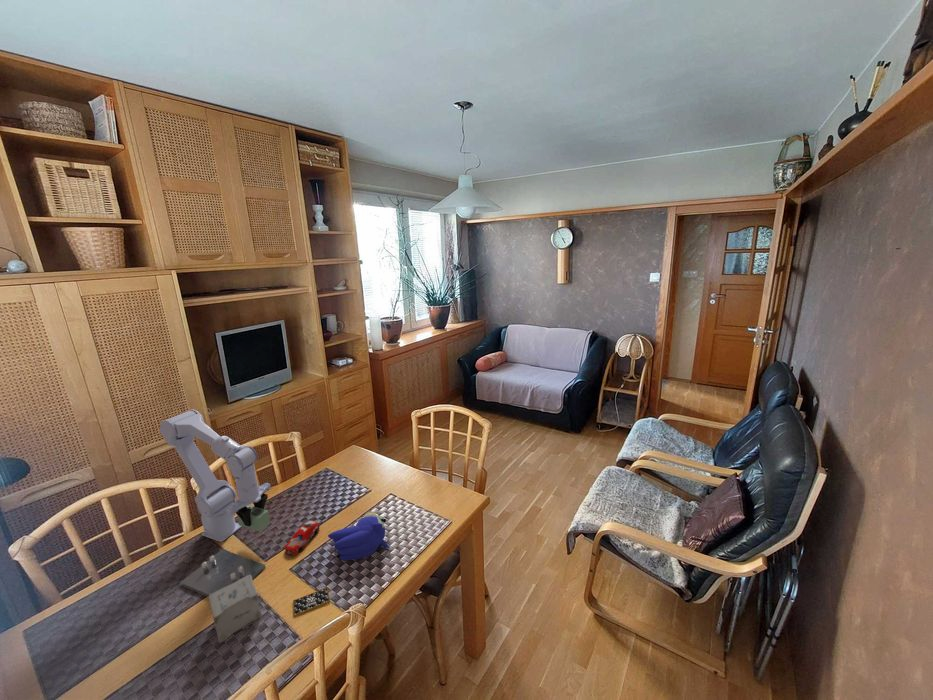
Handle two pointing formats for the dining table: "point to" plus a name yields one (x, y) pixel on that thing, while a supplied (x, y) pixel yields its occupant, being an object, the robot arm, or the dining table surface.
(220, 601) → the grey box
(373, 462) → the dining table surface
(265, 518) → the green box
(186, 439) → the robot arm
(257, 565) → the chassis
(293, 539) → the race car
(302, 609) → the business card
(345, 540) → the toy
